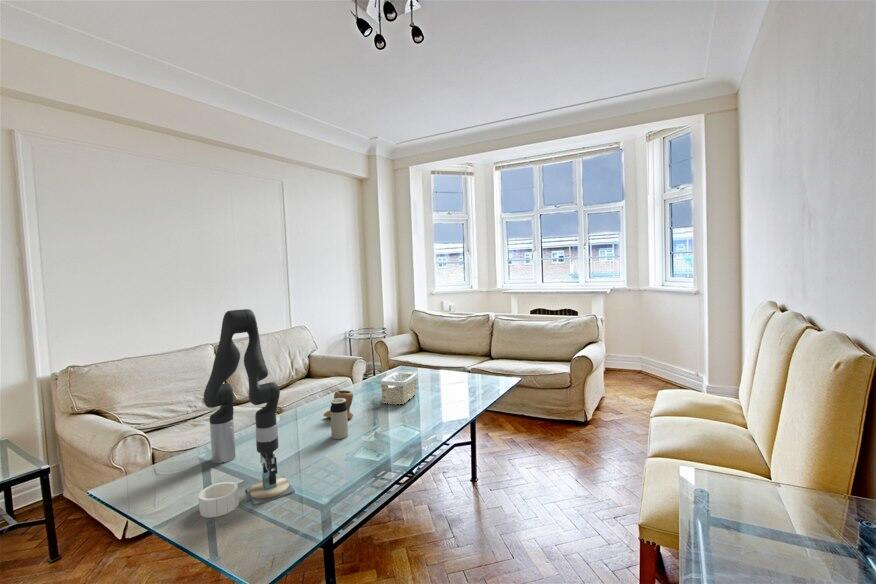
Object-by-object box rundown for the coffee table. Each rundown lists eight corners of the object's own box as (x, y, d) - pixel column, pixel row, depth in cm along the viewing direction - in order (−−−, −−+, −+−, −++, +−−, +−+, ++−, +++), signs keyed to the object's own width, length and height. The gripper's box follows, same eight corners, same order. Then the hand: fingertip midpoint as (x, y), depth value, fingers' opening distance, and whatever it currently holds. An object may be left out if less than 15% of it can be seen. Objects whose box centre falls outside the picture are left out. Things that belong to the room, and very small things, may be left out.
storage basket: (396, 392, 277) (395, 370, 276) (419, 394, 272) (418, 371, 271) (380, 404, 254) (379, 380, 254) (404, 406, 249) (403, 381, 248)
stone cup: (358, 415, 236) (357, 389, 235) (344, 423, 225) (342, 395, 224) (337, 412, 243) (336, 386, 242) (323, 419, 233) (321, 392, 232)
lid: (246, 488, 159) (245, 473, 159) (283, 476, 167) (282, 462, 167) (254, 503, 148) (253, 487, 148) (293, 490, 156) (293, 475, 156)
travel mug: (344, 440, 203) (342, 403, 202) (328, 439, 204) (327, 402, 203) (350, 433, 211) (349, 398, 210) (335, 432, 212) (334, 397, 211)
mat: (246, 489, 159) (245, 488, 159) (283, 477, 167) (283, 476, 167) (254, 505, 148) (254, 504, 148) (294, 492, 156) (294, 490, 156)
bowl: (197, 505, 149) (196, 489, 149) (234, 494, 156) (233, 478, 156) (202, 521, 139) (201, 504, 139) (241, 508, 146) (240, 491, 146)
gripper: (251, 433, 160) (254, 475, 161) (261, 446, 149) (263, 490, 149) (272, 429, 164) (274, 469, 165) (282, 440, 153) (285, 483, 154)
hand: (269, 479), depth 157 cm, fingers open, 8 cm apart
